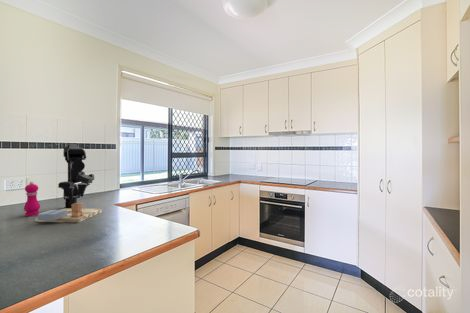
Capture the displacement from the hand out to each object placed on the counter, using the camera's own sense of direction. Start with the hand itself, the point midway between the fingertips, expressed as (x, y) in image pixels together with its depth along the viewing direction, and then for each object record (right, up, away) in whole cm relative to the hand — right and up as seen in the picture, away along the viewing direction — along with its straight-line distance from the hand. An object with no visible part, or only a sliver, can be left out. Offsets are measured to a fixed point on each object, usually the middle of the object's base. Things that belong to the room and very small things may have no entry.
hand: (76, 198), depth 127 cm
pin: (0, -12, 0) cm, 12 cm away
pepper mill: (-32, -12, +8) cm, 35 cm away
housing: (-11, -10, -3) cm, 15 cm away
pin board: (-7, -12, +6) cm, 15 cm away
